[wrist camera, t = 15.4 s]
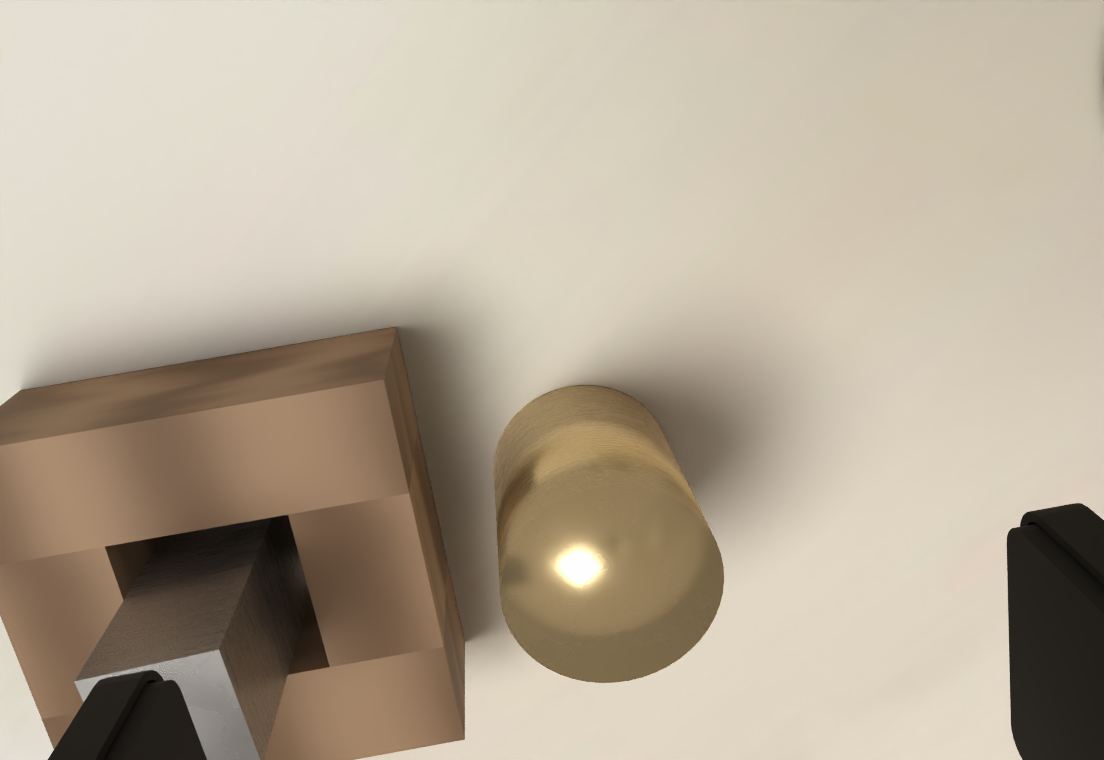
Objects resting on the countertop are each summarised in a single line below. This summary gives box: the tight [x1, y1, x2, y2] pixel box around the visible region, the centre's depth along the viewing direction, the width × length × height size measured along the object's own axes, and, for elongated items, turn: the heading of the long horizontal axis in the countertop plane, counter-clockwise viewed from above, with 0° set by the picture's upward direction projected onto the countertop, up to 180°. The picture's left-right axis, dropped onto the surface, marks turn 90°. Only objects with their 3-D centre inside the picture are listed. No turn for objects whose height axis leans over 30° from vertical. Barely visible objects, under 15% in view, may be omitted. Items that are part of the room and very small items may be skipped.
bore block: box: [0, 327, 465, 760], centre depth 36 cm, size 14×14×6 cm
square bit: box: [74, 515, 310, 760], centre depth 33 cm, size 4×4×12 cm
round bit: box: [494, 385, 724, 683], centre depth 35 cm, size 7×7×9 cm
